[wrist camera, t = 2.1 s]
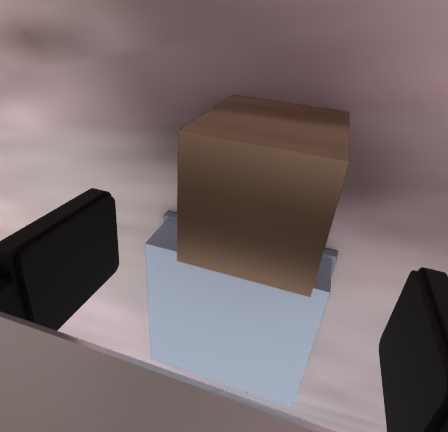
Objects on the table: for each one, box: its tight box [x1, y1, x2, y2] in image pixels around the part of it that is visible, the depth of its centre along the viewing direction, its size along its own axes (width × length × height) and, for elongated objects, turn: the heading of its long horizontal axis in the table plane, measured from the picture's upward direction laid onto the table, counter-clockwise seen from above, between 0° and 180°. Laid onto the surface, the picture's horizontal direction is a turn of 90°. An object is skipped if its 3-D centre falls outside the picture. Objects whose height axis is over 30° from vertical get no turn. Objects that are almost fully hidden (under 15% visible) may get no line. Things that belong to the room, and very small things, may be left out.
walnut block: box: [177, 95, 350, 297], centre depth 14 cm, size 5×5×6 cm
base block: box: [145, 211, 338, 408], centre depth 20 cm, size 9×9×3 cm
